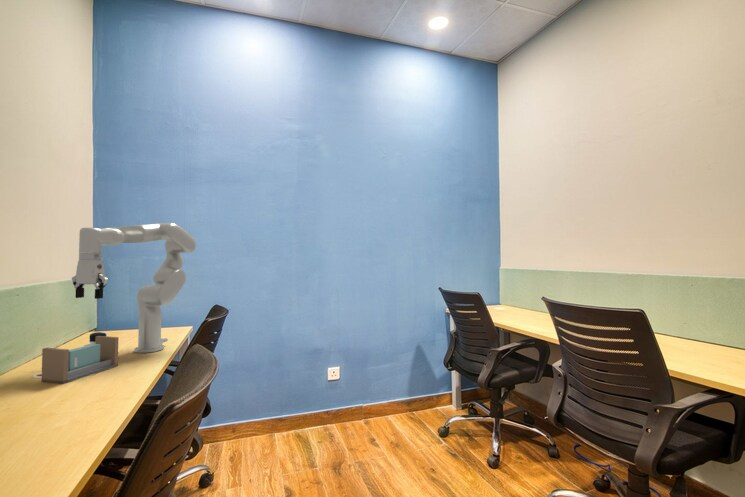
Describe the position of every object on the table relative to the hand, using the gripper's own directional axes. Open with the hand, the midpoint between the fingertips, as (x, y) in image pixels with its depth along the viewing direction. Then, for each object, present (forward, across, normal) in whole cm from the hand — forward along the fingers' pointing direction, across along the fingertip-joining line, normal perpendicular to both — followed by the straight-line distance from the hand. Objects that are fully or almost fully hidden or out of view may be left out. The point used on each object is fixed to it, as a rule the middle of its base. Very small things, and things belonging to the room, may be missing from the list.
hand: (89, 298), depth 153 cm
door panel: (+27, -7, +8) cm, 29 cm away
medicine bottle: (+28, +4, -8) cm, 30 cm away
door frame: (+28, -7, +8) cm, 30 cm away
